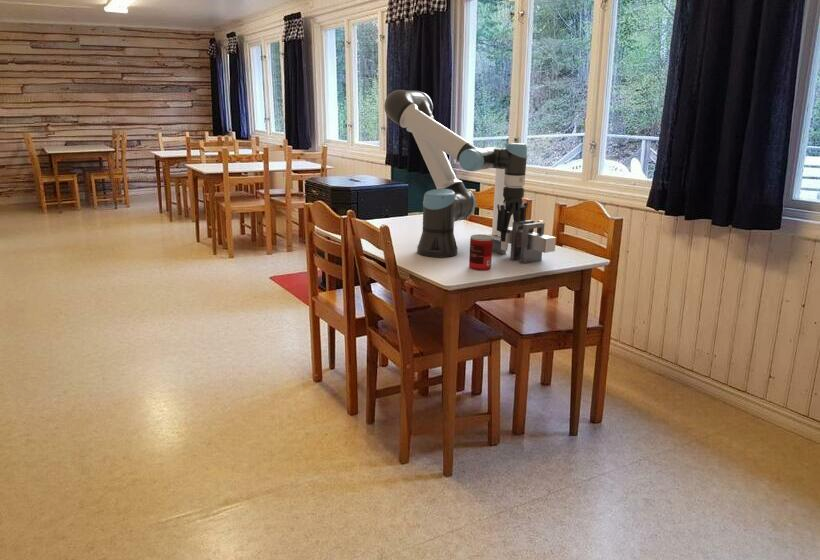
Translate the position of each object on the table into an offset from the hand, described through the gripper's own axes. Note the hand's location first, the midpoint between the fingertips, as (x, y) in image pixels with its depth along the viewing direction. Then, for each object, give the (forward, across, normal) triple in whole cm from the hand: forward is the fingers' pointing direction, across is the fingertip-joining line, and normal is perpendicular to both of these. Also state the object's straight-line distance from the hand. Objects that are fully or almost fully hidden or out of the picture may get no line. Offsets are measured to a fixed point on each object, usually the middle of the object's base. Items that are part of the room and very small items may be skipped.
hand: (509, 248), depth 231 cm
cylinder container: (+3, +26, +30) cm, 40 cm away
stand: (+3, 0, +8) cm, 9 cm away
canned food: (+3, -22, -8) cm, 24 cm away
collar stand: (+3, +1, -9) cm, 9 cm away
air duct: (-3, 0, -8) cm, 9 cm away
